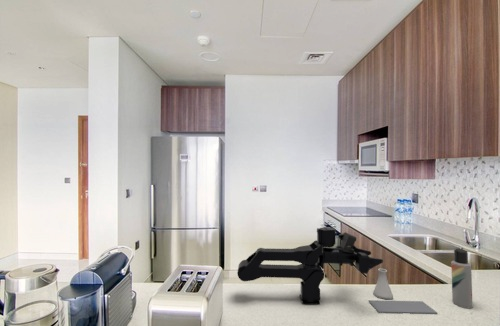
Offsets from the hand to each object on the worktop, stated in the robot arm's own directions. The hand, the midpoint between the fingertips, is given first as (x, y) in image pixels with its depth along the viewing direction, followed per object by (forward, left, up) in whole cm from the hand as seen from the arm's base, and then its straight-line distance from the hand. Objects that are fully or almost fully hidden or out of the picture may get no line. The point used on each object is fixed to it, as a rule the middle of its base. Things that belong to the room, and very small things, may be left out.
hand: (376, 256), depth 96 cm
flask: (+5, +5, -17) cm, 18 cm away
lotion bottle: (+31, -1, -17) cm, 35 cm away
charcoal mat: (+7, -4, -17) cm, 18 cm away
